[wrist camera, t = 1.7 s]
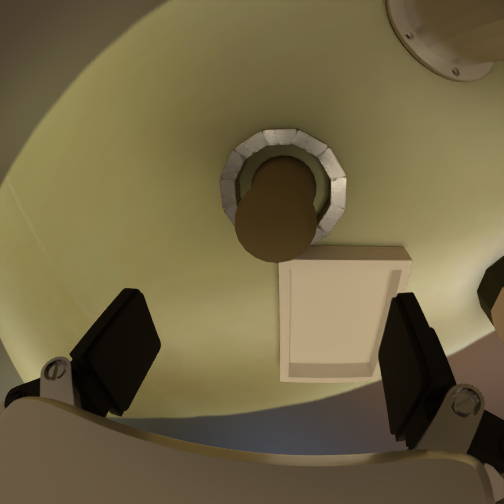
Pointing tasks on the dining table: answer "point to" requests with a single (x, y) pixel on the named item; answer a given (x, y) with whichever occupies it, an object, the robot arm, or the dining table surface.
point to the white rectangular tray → (337, 311)
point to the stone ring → (287, 137)
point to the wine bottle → (493, 295)
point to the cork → (278, 211)
